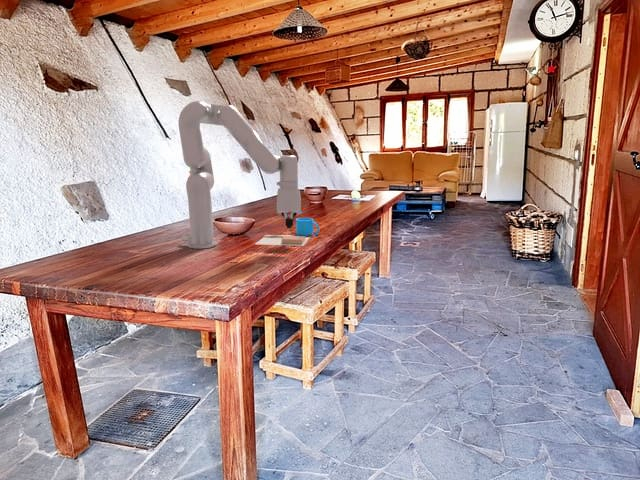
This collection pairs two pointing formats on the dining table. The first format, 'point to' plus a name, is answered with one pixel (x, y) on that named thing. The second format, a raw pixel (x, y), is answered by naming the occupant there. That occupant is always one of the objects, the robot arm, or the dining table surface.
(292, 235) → the turner
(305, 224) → the mug
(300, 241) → the tile
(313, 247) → the dining table surface
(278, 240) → the board
